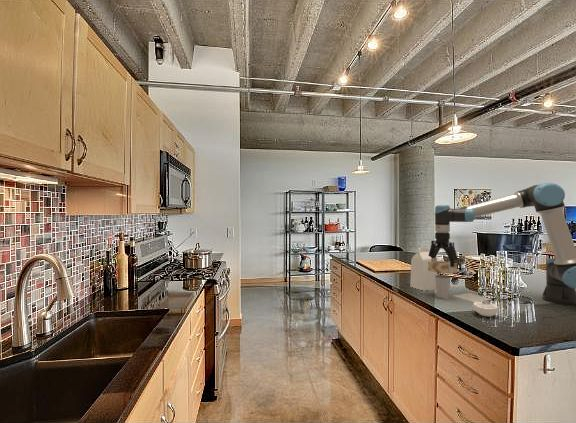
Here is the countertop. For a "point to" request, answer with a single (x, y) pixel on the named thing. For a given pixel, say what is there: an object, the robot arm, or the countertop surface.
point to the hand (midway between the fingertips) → (442, 270)
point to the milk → (422, 271)
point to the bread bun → (440, 267)
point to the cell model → (486, 308)
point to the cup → (442, 286)
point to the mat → (472, 297)
